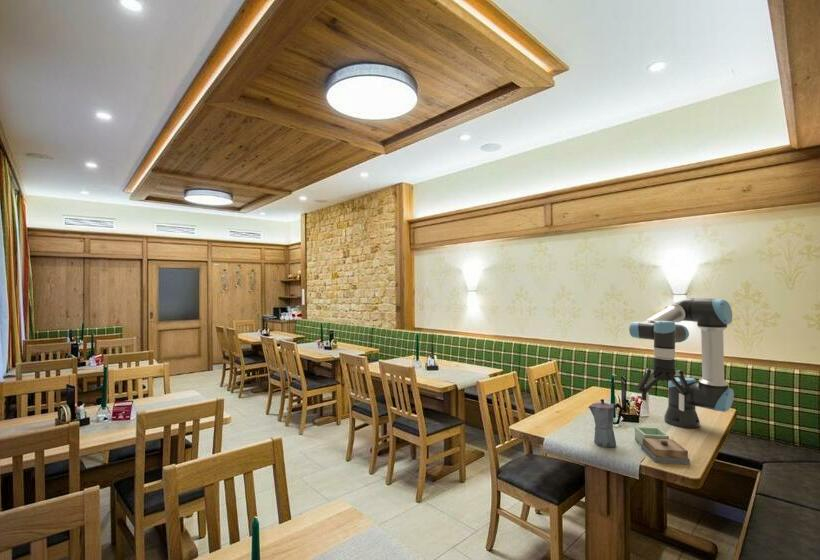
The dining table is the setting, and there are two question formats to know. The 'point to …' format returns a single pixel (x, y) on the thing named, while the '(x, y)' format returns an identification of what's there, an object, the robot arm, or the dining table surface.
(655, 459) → the mat
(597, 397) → the dining table surface
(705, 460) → the dining table surface
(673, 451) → the lid
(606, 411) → the moka pot
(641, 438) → the green open box
